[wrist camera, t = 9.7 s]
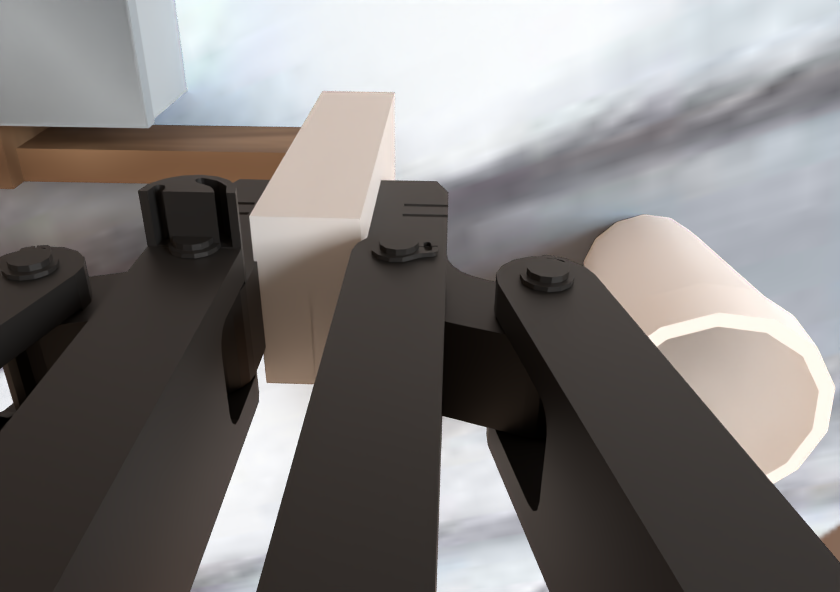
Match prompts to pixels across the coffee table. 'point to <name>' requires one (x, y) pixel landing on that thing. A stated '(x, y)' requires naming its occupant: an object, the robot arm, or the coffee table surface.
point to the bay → (139, 153)
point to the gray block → (89, 62)
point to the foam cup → (720, 338)
